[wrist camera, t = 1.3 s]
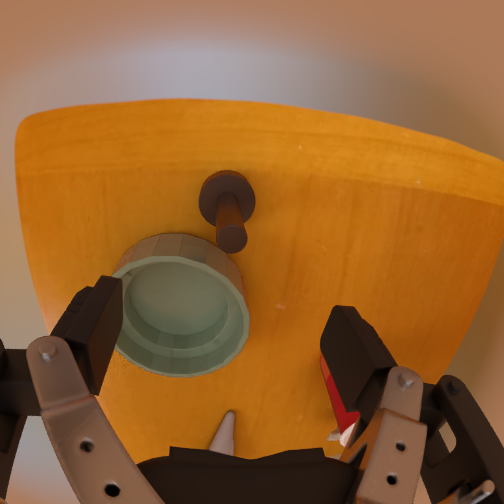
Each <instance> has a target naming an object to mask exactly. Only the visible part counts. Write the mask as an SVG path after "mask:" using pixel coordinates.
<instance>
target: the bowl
mask: <svg viewBox="0 0 504 504" xmlns="http://www.w3.org/2000/svg"><path fill="white" fill-rule="evenodd" d="M111 277H116V278H121V279H122V283H123V324H122V328H121V332H120V334H119V337H118V340H117V342H116V345H115V348H114V349H115V350H116V351H118V352H119V353H120V354H121V355H122V356H123V357H125V358H126V359H127V360H128V361H129V362H131V363H132V364H134V365H136V366H138V367H140V368H142V369H144V370H146V371H148V372H151V373H155V374H159V375H163V376H167V377H195V376H200V375H205V374H209V373H212V372H214V371H216V370H218V369H220V368H222V367H224V366H226V365H227V364H228V363H230V362H231V361H232V360H233V359H234V358H235V357H236V356H237V355H238V354H239V353H240V352H241V350H242V348H243V346H244V344H245V342H246V340H247V338H248V336H249V326H250V313H249V308H248V302H247V296H246V291H245V286H244V283H243V280H242V277H241V274H240V271H239V269H238V268H237V266H236V265H235V264H234V263H233V261H232V260H231V259H230V257H229V256H228V255H227V254H226V253H225V252H224V251H222V250H221V249H219V248H218V247H216V246H215V245H213V244H212V243H210V242H209V241H207V240H204V239H201V238H198V237H194V236H191V235H188V234H159V235H156V236H153V237H150V238H147V239H144V240H141V241H139V242H138V243H137V244H135V245H134V246H133V247H132V248H130V249H129V250H128V251H127V252H125V253H124V255H123V257H122V258H121V260H120V262H119V263H118V265H117V267H116V268H115V270H114V272H113V273H112V275H111Z"/></svg>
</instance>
